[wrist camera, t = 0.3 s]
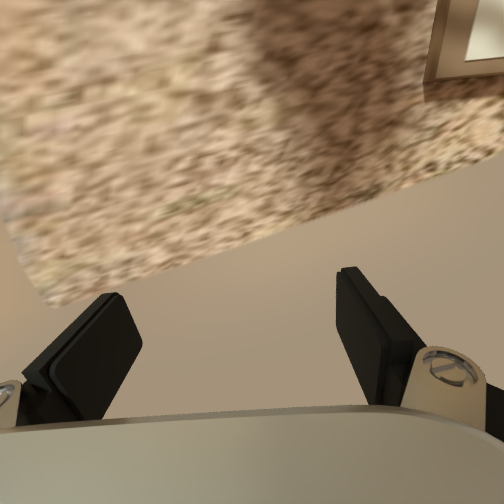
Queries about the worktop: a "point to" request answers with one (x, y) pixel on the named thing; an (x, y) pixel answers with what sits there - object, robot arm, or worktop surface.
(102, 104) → the worktop surface
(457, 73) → the rack board
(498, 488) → the robot arm
